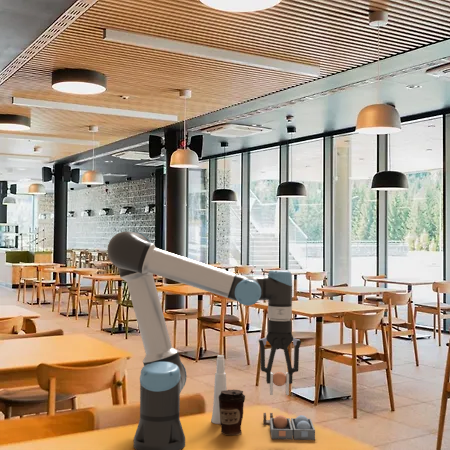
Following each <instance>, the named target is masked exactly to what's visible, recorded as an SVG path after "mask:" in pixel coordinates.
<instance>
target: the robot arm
mask: <svg viewBox="0 0 450 450" xmlns="http://www.w3.org/2000/svg"><path fill="white" fill-rule="evenodd" d="M107 244H108V245H107V249H106V250H107V251H106V252H107V257H108V259H109V261H110V262H111V264H113V266H115V267H116V268H117V270H118V273H119V277H120V279H122V280H123V281H125V282H126V285H127V288H128V291H129V296H130V301H131V303H132V306H133V307H132V308H133V310H134V311H133V312H134V314H135V319H136V322H137V326H138V329H139V333H140V337H141V341H142V345H143V349H144V353H145V356H144V357H143V360H142V363H143V367H142V368H141V370H140V376H139V385H140V386H139V390H140V391H139V395H140V396H139V422H138V424H137V427H136V430H135V433H134V437H133V448H134V450H182V449H184V448H185V446H186V435H185V432H184V429H183V426H182V422H181V419H180V411H181V410H180V405H181V404H180V403H181V399H180V396H181V392H182V390H183V389H184V387H185V385H186V383H187V377H188V375H187V370H186V367H185V365H184V363H183V362H182V360H181V357H180V354H179V350H178V349H176V348H174V347H173V346H172V343H171V342H172V341H171V339H170V334H169V330H168V328H167V324H166V319H165V317H164V312H163V307H162V304H161V300H160V297H159V293H158V290H157V287H156V282H155V279H154V275H156V276H158V277H162V278H166V279H169V280H172V281H175V282H178V283H180V284H183V285H187V286H190V287H192V288H196V289H199V290H202V291H205V292H209V293H212V294H215V295H217V296H221V297H223V298H226V299H229V300H232V301H235V302H238V303H239V304H240V305H243V306H252V305H255V304H257V302H259V301H267V302H268V303H267V318H268V319H269V320H267V334H266V337H263V338H259V339H258V340H257V341H258V344H259V346H260V347H259V348H260V350H259V351H260V371H261V372H264V373H266V374H265V376H266V377H265V379H266V380H265V381H266V383H267V385H269V395H270V396H273V395H274V383H273V375H274V373H273V372H272V368H273V364H274V359H275V355H276V352H277V350H282V351H283V354H284V357H285V362H286V367H287V372H285V376H286V383H285V395H286V396H289V395H290V385H291V384H293V374H294V373H297V372H299V369H300V368H299V366H300V365H299V364H300V363H299V361H300V347H301V343H302V341H301V340H300V338H299V339H297V338H295V337H294V336H293V333H292V331H293V328H292V327H293V324H292V323H293V321H292V320H291V319H292V317H293V274H292V272H291V271H289V270H283V269H282V270H279V269H277V270H276V269H275V270H274V269H272V270H271V269H270V270H269V271H268V274H267V276H253V275H252V276H248V275H247V276H245V275H240V274H236V273H234V272H230V271H227V270H224V269H221V268H218V267H215V266H212V265H209V264H205V263H203V262H200V261H197V260H193V259H191V258H188V257H185V256H181V255H178V254H175V253H173V252H169V251H166V250H163V249H160V248H158V247H156V246H155V244H154V243H152V242H151V240H150V239H149V238H148V237H147V236H146V235H145V234H143V233H141V232H138V231H121V232H118V233H116V234H115V235H114V236H113V237H112V238H111V239H110V240H109V242H108V243H107ZM267 342H268V344H269V345H270V346H271V347H270V352H269V357H268V362H267V365H266V349H265V347H266V345H267ZM291 344H293V346H294V347H293V367H292V362H291V358H290V352H289V346H290V345H291Z"/></svg>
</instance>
